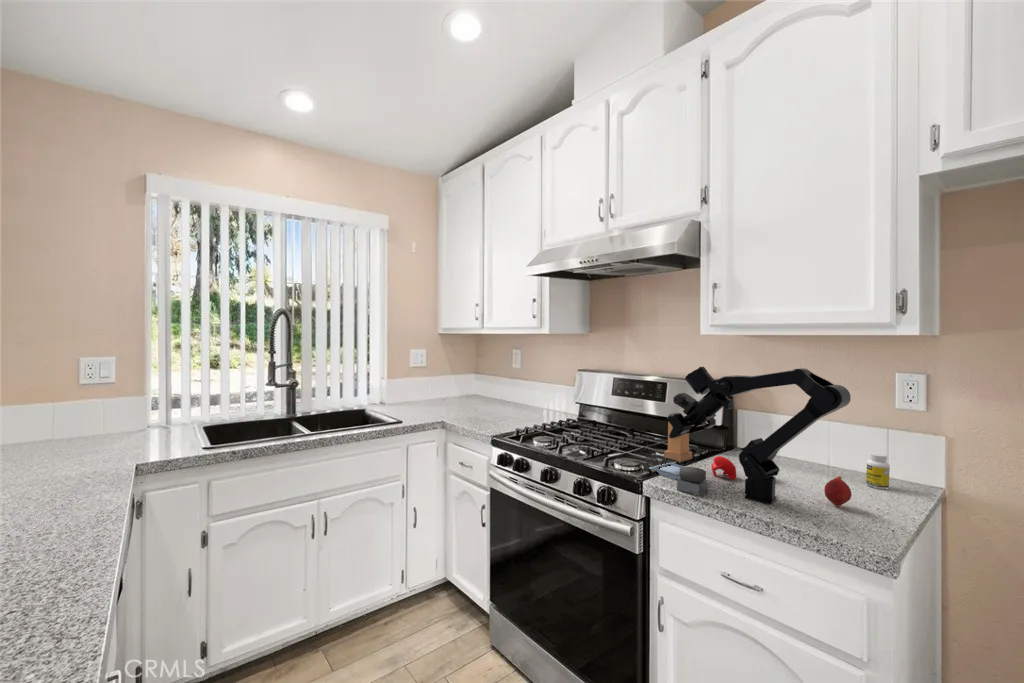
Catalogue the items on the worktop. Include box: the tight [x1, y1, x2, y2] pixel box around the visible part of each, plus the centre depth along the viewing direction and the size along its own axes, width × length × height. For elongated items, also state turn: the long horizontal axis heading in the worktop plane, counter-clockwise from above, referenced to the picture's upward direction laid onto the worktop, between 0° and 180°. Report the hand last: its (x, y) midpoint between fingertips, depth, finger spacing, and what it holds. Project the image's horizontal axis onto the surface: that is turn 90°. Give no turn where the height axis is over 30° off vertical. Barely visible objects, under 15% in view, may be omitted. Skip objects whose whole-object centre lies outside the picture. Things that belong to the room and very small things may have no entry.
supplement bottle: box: [865, 452, 891, 489], centre depth 139 cm, size 5×5×10 cm
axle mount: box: [676, 478, 709, 496], centre depth 133 cm, size 6×6×3 cm
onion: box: [823, 475, 852, 507], centre depth 123 cm, size 6×6×8 cm
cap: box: [711, 455, 737, 481], centre depth 146 cm, size 8×6×6 cm
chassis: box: [648, 462, 685, 480], centre depth 149 cm, size 12×10×2 cm
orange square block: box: [663, 415, 693, 462], centre depth 147 cm, size 6×6×13 cm
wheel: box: [679, 466, 707, 482], centre depth 133 cm, size 7×7×5 cm
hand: (674, 436), depth 148 cm, fingers closed on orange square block, 4 cm apart
